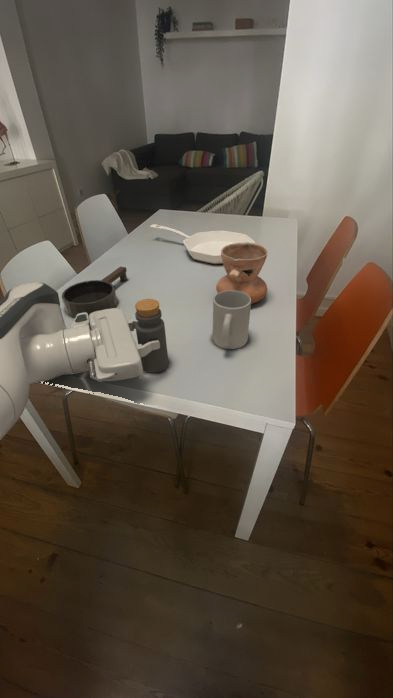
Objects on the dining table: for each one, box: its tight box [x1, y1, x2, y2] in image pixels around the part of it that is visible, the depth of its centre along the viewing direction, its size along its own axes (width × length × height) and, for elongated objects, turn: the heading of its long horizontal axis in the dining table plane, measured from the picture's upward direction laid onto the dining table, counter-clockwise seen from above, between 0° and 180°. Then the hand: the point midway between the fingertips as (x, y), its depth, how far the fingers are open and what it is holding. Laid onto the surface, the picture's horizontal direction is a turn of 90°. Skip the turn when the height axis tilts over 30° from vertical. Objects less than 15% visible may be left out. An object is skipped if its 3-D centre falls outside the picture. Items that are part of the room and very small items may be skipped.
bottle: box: [134, 298, 169, 374], centre depth 65 cm, size 6×6×15 cm
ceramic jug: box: [215, 242, 268, 305], centre depth 89 cm, size 18×14×14 cm
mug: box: [211, 290, 252, 350], centre depth 72 cm, size 12×8×11 cm
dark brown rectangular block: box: [100, 266, 128, 284], centre depth 99 cm, size 2×11×4 cm, turn 159°
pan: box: [149, 223, 257, 265], centre depth 122 cm, size 25×44×6 cm, turn 59°
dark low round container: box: [61, 279, 118, 319], centre depth 90 cm, size 14×14×4 cm
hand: (154, 332), depth 65 cm, fingers closed on bottle, 6 cm apart
